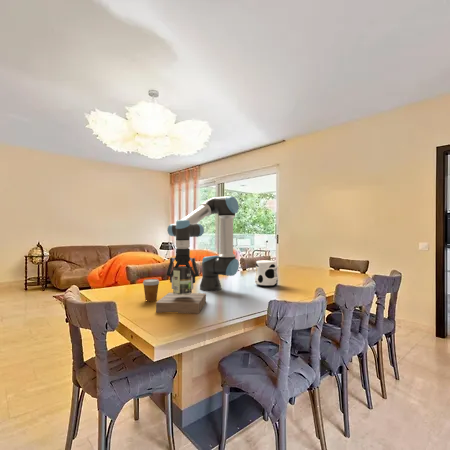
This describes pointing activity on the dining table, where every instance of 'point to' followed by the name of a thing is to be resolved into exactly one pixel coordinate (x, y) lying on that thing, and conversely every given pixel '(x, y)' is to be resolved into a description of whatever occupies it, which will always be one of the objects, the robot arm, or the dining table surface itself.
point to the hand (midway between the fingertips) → (182, 288)
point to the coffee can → (182, 280)
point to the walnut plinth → (181, 303)
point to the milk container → (266, 273)
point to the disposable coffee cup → (151, 289)
